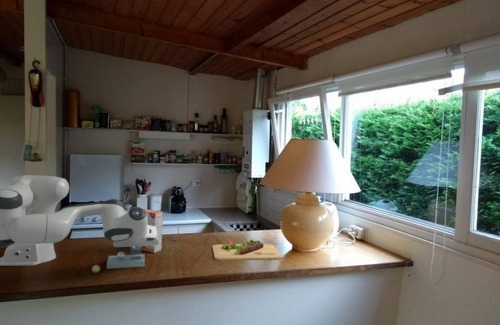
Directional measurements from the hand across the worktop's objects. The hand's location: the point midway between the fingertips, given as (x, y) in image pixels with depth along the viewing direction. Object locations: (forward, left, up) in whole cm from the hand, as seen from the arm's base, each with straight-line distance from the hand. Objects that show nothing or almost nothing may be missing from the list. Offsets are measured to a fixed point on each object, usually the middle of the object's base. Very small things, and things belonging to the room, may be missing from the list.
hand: (136, 248), depth 163 cm
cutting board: (+56, +2, -7) cm, 57 cm away
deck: (-4, -4, -6) cm, 8 cm away
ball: (-7, -4, -2) cm, 8 cm away
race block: (0, +4, -3) cm, 5 cm away
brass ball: (-16, -13, -4) cm, 21 cm away
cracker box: (+6, +16, -6) cm, 18 cm away
